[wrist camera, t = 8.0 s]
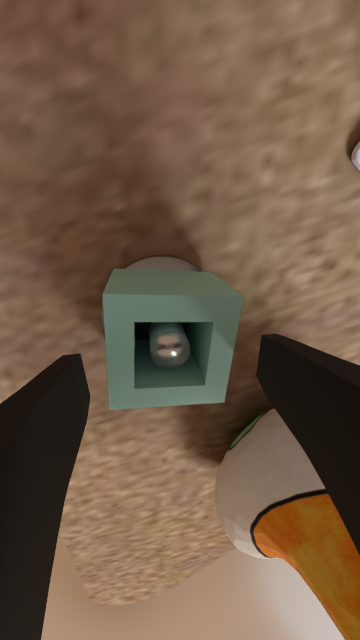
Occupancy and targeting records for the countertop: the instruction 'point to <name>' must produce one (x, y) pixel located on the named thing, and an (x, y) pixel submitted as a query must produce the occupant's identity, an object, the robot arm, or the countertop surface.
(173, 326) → the post
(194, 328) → the collar
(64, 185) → the countertop surface
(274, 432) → the decorative sculpture
